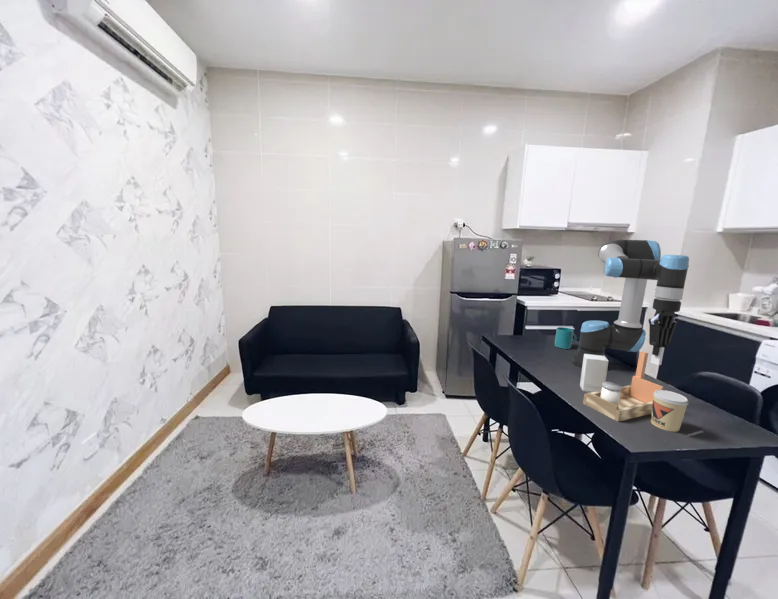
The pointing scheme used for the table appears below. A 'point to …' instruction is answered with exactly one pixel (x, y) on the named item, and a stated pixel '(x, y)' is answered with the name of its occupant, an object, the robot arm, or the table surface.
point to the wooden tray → (626, 408)
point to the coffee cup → (668, 410)
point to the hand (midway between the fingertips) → (655, 363)
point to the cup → (564, 338)
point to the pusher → (643, 382)
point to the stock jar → (611, 392)
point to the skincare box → (593, 372)
